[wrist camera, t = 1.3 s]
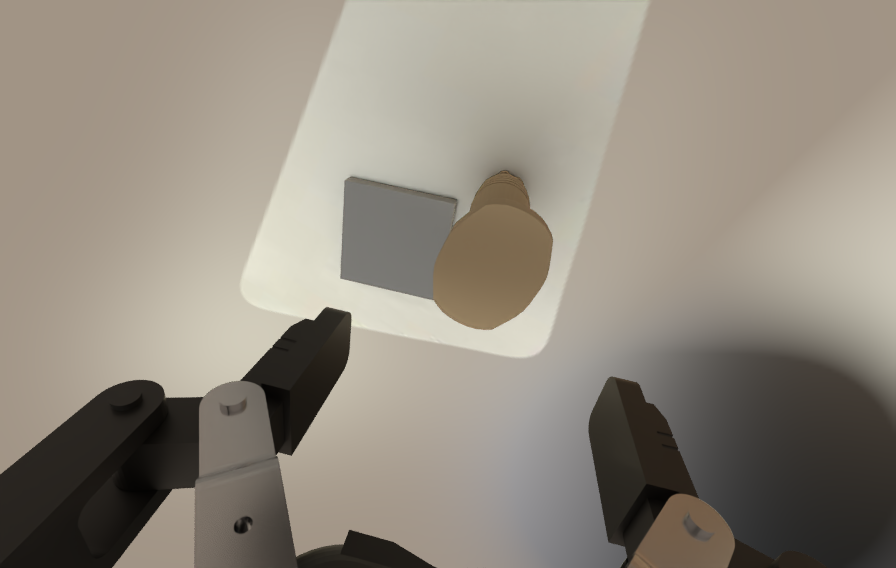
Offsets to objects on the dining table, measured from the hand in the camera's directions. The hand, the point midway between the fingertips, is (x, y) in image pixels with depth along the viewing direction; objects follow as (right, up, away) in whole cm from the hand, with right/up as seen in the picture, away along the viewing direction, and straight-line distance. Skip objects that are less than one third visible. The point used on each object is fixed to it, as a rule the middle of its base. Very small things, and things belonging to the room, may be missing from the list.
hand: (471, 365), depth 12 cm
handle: (+4, +10, +19) cm, 22 cm away
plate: (-5, +6, +23) cm, 24 cm away
